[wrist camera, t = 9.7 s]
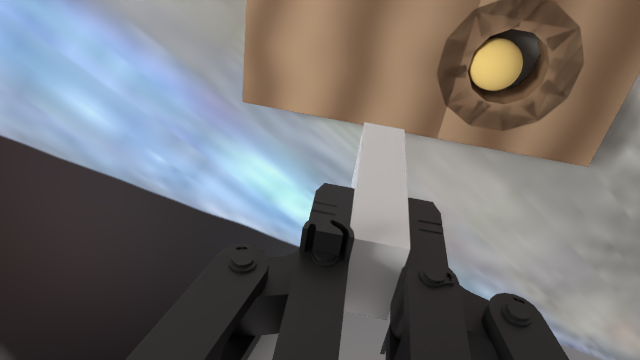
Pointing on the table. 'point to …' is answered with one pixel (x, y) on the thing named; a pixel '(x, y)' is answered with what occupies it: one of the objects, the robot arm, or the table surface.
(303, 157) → the table surface
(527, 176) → the table surface
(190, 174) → the table surface
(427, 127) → the board
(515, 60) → the ball
